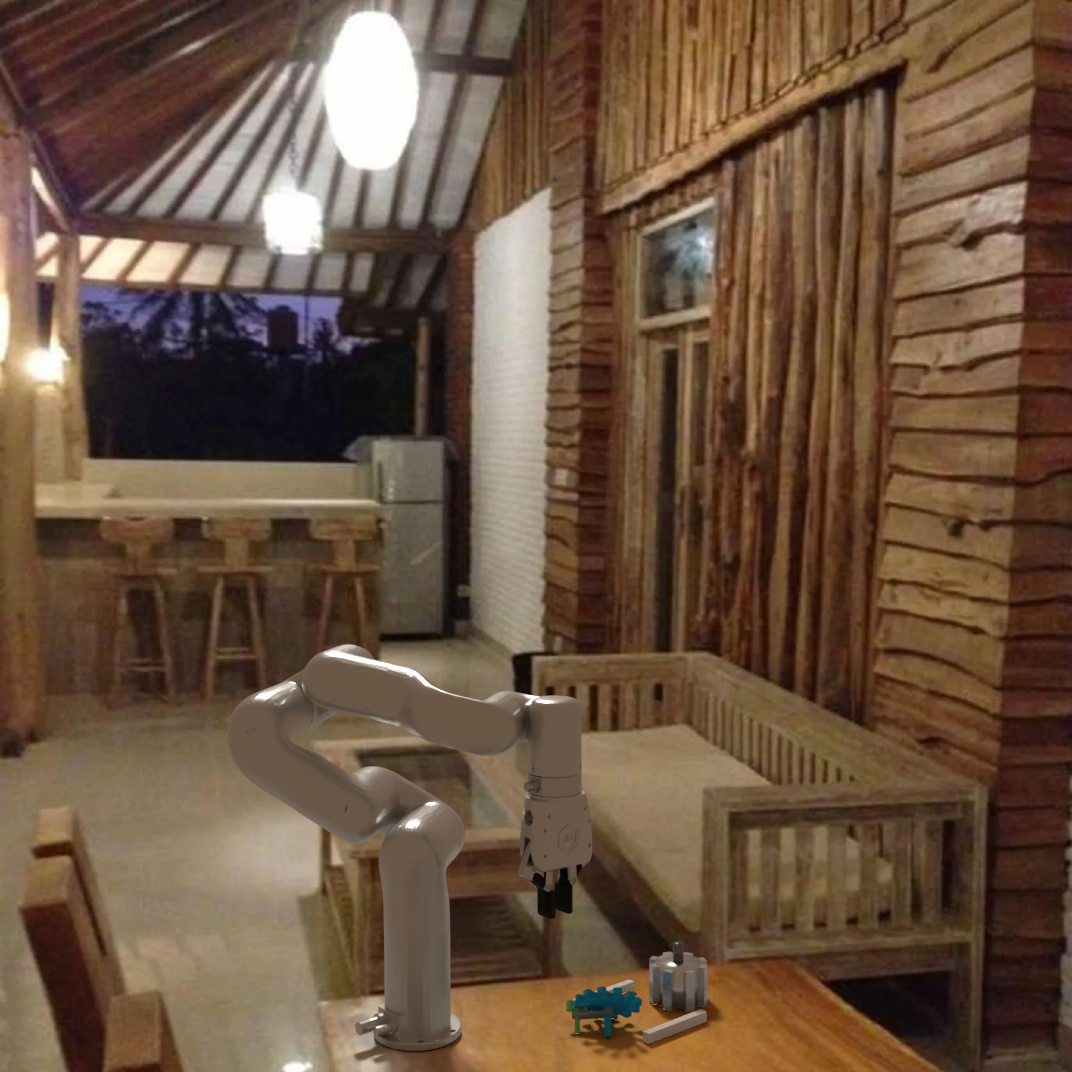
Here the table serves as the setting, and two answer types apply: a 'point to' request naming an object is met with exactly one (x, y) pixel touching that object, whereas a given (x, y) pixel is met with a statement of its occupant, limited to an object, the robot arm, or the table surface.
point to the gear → (603, 1006)
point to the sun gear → (678, 980)
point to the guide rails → (668, 1027)
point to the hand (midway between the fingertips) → (555, 912)
